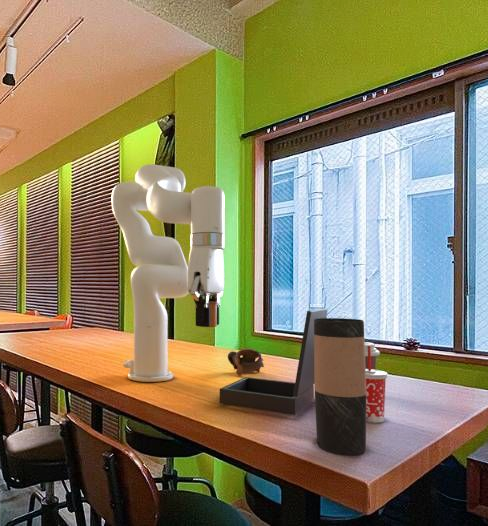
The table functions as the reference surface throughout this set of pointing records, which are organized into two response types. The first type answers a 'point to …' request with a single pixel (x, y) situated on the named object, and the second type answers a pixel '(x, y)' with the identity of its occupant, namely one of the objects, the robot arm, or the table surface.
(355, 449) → the travel mug
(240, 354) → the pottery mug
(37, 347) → the table surface
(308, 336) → the lid
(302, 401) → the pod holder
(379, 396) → the beverage cup
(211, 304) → the orange brown spool
